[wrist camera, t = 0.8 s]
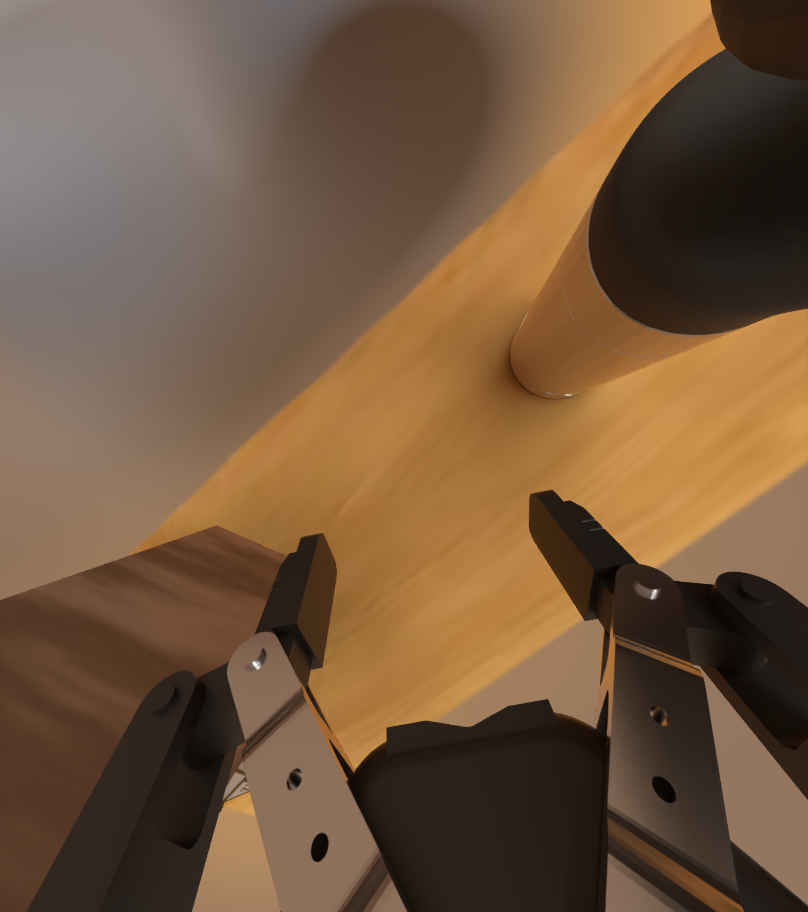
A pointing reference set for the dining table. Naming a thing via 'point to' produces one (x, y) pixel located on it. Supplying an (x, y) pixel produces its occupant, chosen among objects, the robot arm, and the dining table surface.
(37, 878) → the walnut pedestal
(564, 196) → the dining table surface
